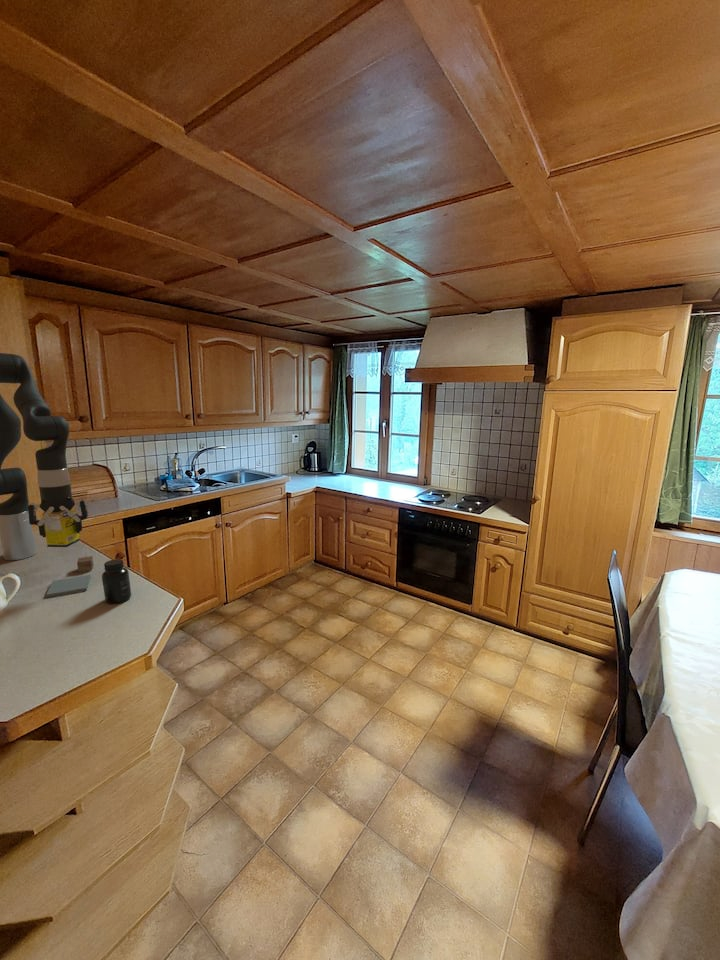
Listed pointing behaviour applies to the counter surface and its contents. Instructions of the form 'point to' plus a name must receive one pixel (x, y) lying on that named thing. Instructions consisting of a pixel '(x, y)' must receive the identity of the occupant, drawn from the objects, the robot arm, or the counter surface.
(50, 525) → the supplement box
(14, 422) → the robot arm
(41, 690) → the counter surface
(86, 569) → the walnut block
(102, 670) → the counter surface
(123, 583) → the supplement bottle
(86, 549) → the counter surface
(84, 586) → the pad
